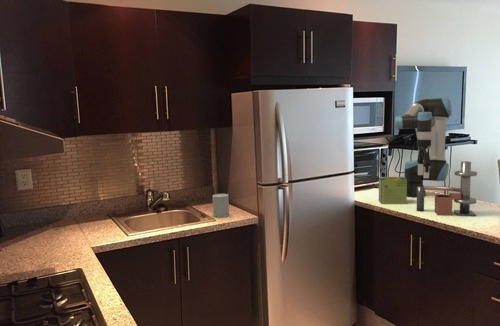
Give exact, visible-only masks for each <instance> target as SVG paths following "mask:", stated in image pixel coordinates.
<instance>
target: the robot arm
mask: <svg viewBox="0 0 500 326" xmlns="http://www.w3.org/2000/svg"><path fill="white" fill-rule="evenodd" d="M452 115H453V109H452V102H451V100H450V99H449V98H444V97H442V98H423V99H420V100H418V101H416V102H413V103H412V104H411V105H410V106H409V108H408V110H407V111H406V112H405V113H404V114H403V115H397V116H395V119H394V127H395V128H396V129H401V130H403V129H417V131H416V133H415V134H416V139H417V140H416V146H417V147H418V154H417V159H415V160H408V161H406V162H405V163H404V169H403V170H404V176H403V177H404V178H406V179H407V197H408V198H409V197H410V198H417V186H423V187H424V197H426V195H427V194H426V189H425V186H424V181H431V182H432V181H433V182H434V181H435V182H445V181H446V180H447V178H448V174H449V169H450V164H449V163H447V159H446V158H445V150H446V149H445V148H446V129H447V121H448V120H449V119H450V117H452ZM428 147H430V148H428Z"/></svg>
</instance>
